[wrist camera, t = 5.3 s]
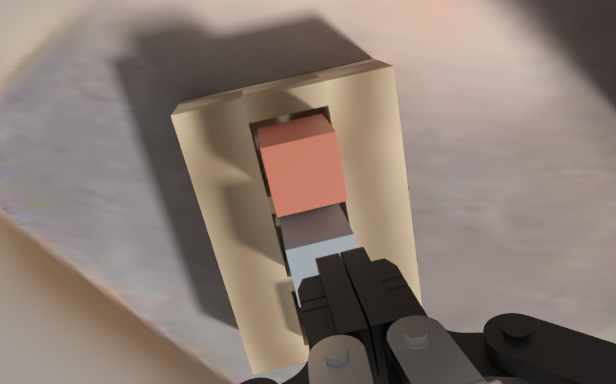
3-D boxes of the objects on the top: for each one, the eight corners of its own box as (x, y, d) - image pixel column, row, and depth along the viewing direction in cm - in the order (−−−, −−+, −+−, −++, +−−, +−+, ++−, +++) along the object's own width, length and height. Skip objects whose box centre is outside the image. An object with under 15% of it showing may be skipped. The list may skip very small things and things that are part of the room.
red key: (321, 113, 25) (335, 131, 21) (333, 173, 26) (348, 200, 22) (257, 128, 25) (259, 148, 21) (272, 188, 26) (277, 217, 22)
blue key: (338, 203, 27) (353, 234, 23) (348, 254, 28) (364, 291, 25) (279, 217, 27) (285, 250, 23) (292, 268, 28) (299, 307, 24)
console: (373, 58, 28) (393, 65, 24) (405, 297, 35) (424, 331, 31) (180, 101, 27) (170, 115, 24) (252, 335, 34) (253, 374, 31)
